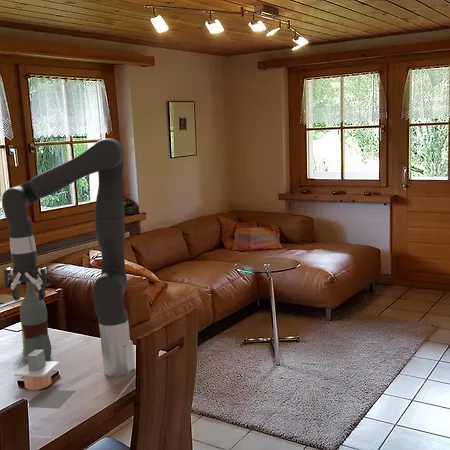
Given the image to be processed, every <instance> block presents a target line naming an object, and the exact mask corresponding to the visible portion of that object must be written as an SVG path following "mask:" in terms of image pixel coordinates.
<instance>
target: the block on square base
mask: <svg viewBox="0 0 450 450" xmlns="http://www.w3.org/2000/svg"><path fill="white" fill-rule="evenodd" d="M27 359H28V362H27V363H26V365H25V364H24V366H23V367H21V368H20V369H18V370H17V371H16V372H15V373H14V374H13V375H14V377H24V376H35V377H45V376H46V375H47V374H48V373H49V372H50V373H51V372H52V371H53V370H54V369H55V368H56V367H57V366H58V365H59V366H60V363H61V362H60V361H49V360H48V361H45V354H44V350H34V351H33V352H31V353H30V354H29V355H27ZM27 359H26V360H27Z"/></svg>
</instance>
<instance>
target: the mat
mask: <svg viewBox="0 0 450 450" xmlns="http://www.w3.org/2000/svg"><path fill="white" fill-rule="evenodd" d="M75 393H76V390H65V389H64V390H62V389H42V390H40V392H38V393H37V394H36V395H35V396H34V397H33V398H32V399H31V400H30V401H28V402H27V403H29V407H28V408H45V409H60V408H61V407H62V405H64V404H65V402H67V401H68V400H69V398H71V397H72V396H73V394H75Z"/></svg>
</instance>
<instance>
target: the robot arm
mask: <svg viewBox="0 0 450 450" xmlns="http://www.w3.org/2000/svg"><path fill="white" fill-rule="evenodd" d="M124 161H125V150H124V147H123V145H122V144H121V143H120V142H119V141H118V140H117V139H115V138H109V137H108V138H103V139H100V140H98V141H96V142H95V143H94V144H93V145H92V146H91V147H88V149H87V150H84V152H81V154H79V155H78V156H76V157H73V158H72V159H70V160H68V161H66V162H63V163H61V164H59V165H57V166H54V167H52V168H50V169H47V170H45V171H44V172H42V173H39V174H37V175H35V176H34V177H32V178H31V179H30V180H28V181H26V182H23V183H21V184H19V185H17V186H13V187H10V188H8V189H6V190H5V191H4V192H3V194H2V198H1V203H2V204H1V205H2V209H3V213H4V216H5V219H6V221H7V224H8V233H9V249H10V257H11V264H12V267H13V268H11V267H7V268H5V269H4V270H3V273H4V286H5V288H7V289H8V288H9V289H11V295H12V299H13V300H14V302H15V301H16V302H18V301H19V300H20V299H21V296H20V295H21V294H20V287H19V285H20V284H21V283H26V282H32V283H33V284H34V286H35V287H36V288H37V294H38V295H39V301H42V300H43V301H44V300H45V298H46V296H47V295H46V289H45V288H47V287H48V286H50V285H51V281H50V280H51V279H50V275H49V270H48V267H46V266H44V267H43V268H39V266H38V256H37V248H36V241H35V237H34V230H33V228H34V227H33V223H32V222H33V221H32V219H31V217H29V216H28V211H27V207H28V206H30V205H33V204H34V203H36V202H37V201H39V200H41V199H43V198H46V197H49V196H51V195H53V194H55V193H57V192H59V191H61V190H63V189H65V188H66V187H68V186H70V185H72V184H73V183H74V182H77V181H78V180H80V179H82V178H84V177H87V176H89V175H92V174H95V173H97V174H98V189H97V192H96V193H97V194H96V199H95V205H94V230H95V236H96V239H97V243H98V246H99V250H100V254H101V272H100V276H99V277H98V278H97V279H95V281H94V283H93V300H94V308H95V313H96V317H97V318H98V327H99V335H100V344H101V346H100V347H101V354H102V355H101V356H102V357H101V358H102V365H103V367H102V368H103V373H104V374H105V376H108V377H121V376H128V375H130V374H131V373H132V372H133V370H134V369H135V368H136V367H135V355H134V354H135V353H134V344H133V340H131V337H130V325H129V315H128V311H127V310H126V309H125V304H124V296H123V295H124V293H126V290H127V287H128V276H127V271H126V261H125V243H126V242H125V241H126V240H125V238H126V237H125V230H126V229H125V228H126V225H125V224H126V219H125V216H126V215H125V202H124V201H125V200H124V191H123V172H124V171H123V170H124ZM13 275H14V276H15V278H14V279H13ZM40 276H41V277H40Z"/></svg>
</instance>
